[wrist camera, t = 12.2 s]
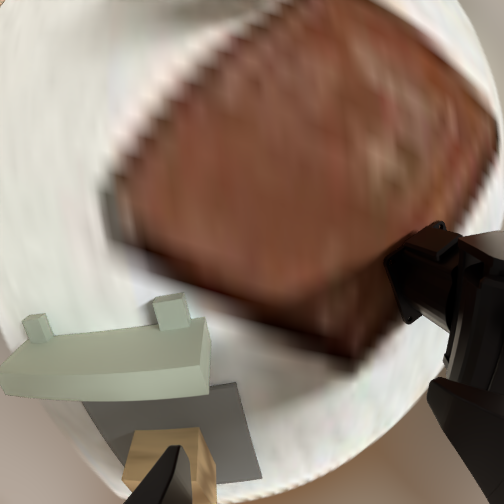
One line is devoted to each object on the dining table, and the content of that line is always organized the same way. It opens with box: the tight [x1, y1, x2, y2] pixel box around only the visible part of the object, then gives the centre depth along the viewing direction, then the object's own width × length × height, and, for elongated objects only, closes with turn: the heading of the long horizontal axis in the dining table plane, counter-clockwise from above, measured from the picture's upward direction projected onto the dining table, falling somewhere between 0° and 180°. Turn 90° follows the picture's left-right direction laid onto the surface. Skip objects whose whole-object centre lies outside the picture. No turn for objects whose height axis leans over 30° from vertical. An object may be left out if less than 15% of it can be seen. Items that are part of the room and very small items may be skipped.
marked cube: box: [121, 427, 217, 504], centre depth 19 cm, size 6×6×6 cm
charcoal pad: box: [82, 383, 262, 484], centre depth 22 cm, size 14×14×1 cm
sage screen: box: [0, 292, 211, 401], centre depth 16 cm, size 6×16×6 cm, turn 100°
